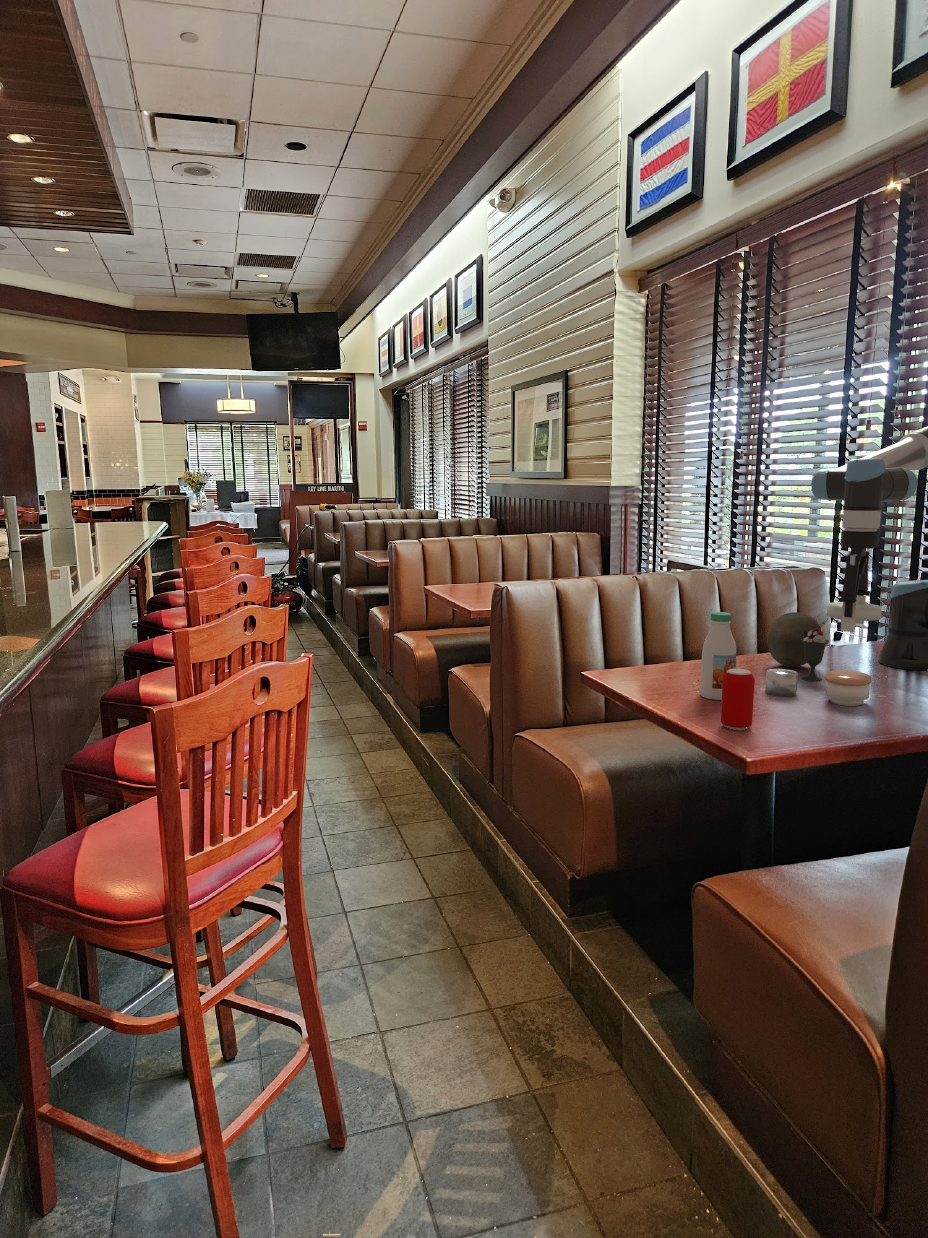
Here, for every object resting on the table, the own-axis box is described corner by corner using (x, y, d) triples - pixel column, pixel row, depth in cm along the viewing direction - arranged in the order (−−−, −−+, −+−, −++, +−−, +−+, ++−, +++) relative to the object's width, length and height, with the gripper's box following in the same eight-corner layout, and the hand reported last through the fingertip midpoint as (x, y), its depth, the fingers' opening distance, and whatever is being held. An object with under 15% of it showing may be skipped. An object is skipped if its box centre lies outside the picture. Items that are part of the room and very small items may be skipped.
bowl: (842, 692, 191) (843, 668, 189) (879, 702, 182) (881, 677, 181) (814, 700, 186) (815, 675, 185) (851, 710, 178) (852, 684, 177)
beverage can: (756, 731, 164) (760, 674, 162) (727, 732, 163) (730, 675, 161) (744, 722, 170) (747, 667, 168) (715, 723, 169) (718, 668, 167)
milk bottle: (698, 699, 187) (702, 614, 184) (701, 691, 195) (705, 609, 191) (733, 702, 185) (737, 616, 181) (735, 694, 192) (739, 611, 188)
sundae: (829, 683, 201) (833, 624, 198) (800, 681, 202) (804, 623, 200) (823, 676, 207) (827, 619, 205) (795, 675, 209) (799, 618, 206)
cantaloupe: (754, 663, 222) (757, 610, 220) (799, 660, 225) (802, 607, 223) (785, 675, 209) (789, 618, 206) (832, 672, 212) (836, 616, 209)
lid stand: (784, 687, 197) (785, 668, 196) (802, 695, 190) (804, 674, 189) (759, 689, 195) (760, 669, 194) (777, 697, 188) (778, 676, 188)
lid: (856, 611, 187) (857, 601, 187) (892, 619, 177) (893, 608, 176) (816, 613, 185) (816, 603, 184) (849, 622, 174) (850, 610, 174)
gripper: (851, 526, 189) (844, 618, 193) (831, 532, 170) (823, 634, 174) (887, 527, 185) (878, 621, 189) (870, 533, 166) (861, 637, 170)
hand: (852, 627), depth 181 cm, fingers closed on lid, 11 cm apart
